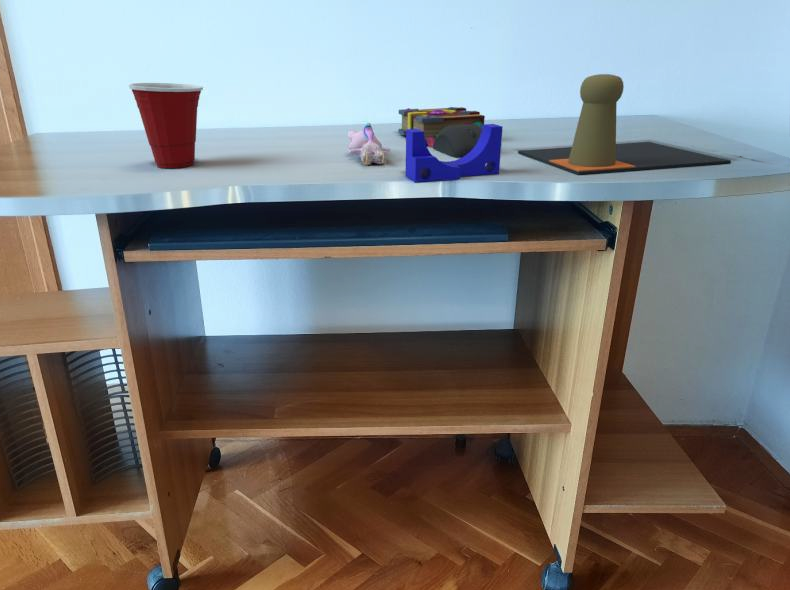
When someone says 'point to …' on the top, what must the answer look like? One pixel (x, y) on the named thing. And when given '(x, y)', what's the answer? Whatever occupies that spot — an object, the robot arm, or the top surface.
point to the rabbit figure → (367, 146)
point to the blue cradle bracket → (431, 169)
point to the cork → (597, 122)
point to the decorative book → (437, 120)
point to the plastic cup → (169, 120)
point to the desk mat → (628, 158)
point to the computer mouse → (457, 139)
